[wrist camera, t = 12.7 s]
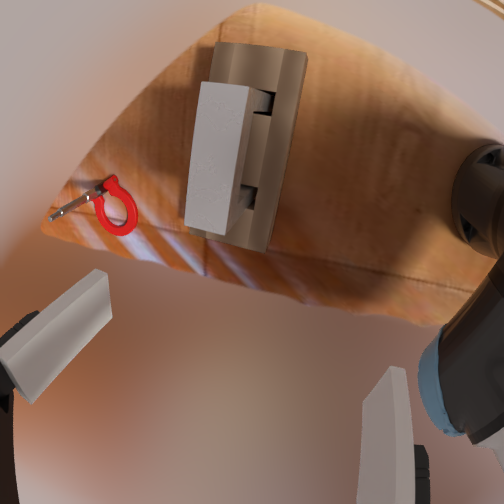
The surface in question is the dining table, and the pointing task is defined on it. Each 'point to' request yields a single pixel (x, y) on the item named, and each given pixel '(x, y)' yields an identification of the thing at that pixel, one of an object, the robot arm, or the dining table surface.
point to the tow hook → (99, 201)
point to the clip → (221, 155)
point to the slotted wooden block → (261, 132)
